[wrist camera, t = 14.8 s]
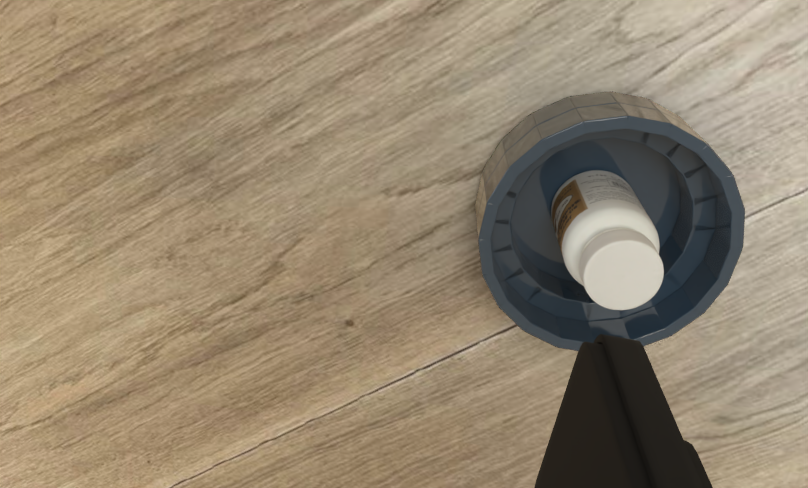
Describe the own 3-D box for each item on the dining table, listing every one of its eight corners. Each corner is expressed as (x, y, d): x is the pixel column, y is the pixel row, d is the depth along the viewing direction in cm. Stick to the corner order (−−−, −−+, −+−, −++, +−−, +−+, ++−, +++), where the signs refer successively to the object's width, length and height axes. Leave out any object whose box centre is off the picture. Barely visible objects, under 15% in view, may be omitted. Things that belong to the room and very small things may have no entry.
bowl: (504, 69, 37) (512, 94, 32) (745, 113, 37) (786, 144, 33) (455, 282, 42) (456, 330, 38) (666, 320, 42) (692, 371, 38)
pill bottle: (546, 174, 38) (568, 237, 31) (633, 162, 38) (675, 224, 31) (552, 250, 40) (575, 326, 33) (636, 240, 40) (676, 315, 33)
